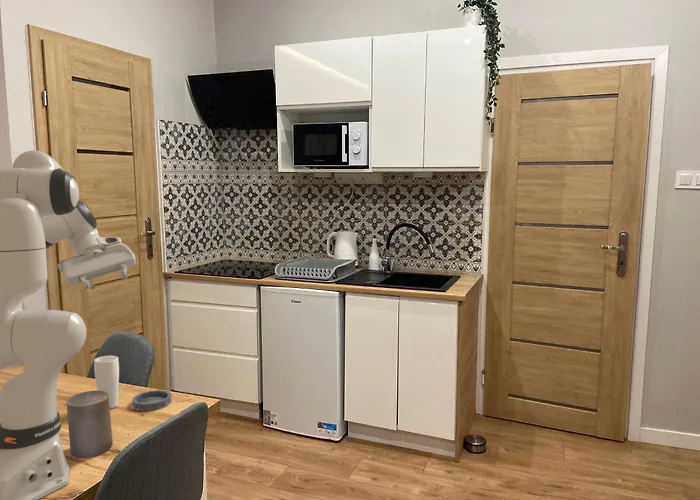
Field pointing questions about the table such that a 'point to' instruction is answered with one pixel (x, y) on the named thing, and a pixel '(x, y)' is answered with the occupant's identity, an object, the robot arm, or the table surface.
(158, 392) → the coaster
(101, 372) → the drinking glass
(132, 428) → the table surface
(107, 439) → the pillar candle
